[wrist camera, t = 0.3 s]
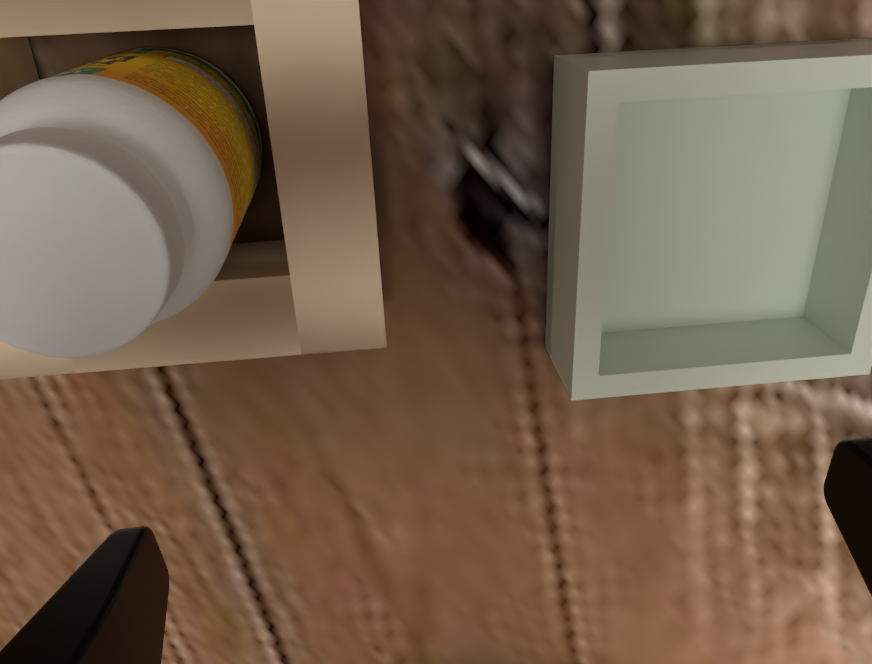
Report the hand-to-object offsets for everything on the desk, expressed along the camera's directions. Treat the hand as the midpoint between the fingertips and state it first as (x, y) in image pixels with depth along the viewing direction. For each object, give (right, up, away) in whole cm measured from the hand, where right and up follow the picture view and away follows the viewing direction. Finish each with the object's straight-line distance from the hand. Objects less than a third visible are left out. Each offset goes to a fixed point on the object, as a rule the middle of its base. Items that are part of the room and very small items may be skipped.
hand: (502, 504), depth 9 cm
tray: (+8, +6, +14) cm, 17 cm away
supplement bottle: (-8, +8, +12) cm, 16 cm away
